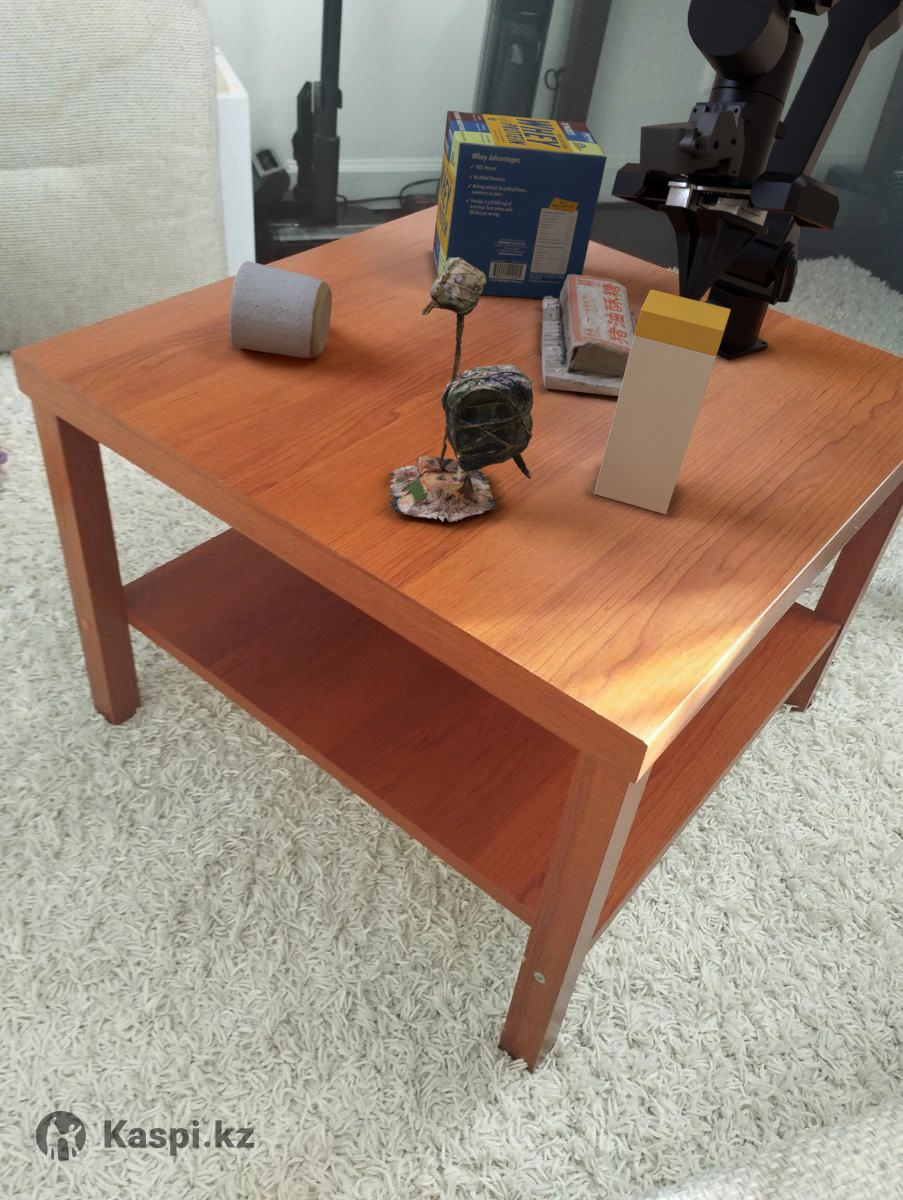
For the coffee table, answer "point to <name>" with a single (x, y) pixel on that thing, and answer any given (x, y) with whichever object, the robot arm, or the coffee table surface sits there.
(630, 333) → the packaged product
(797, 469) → the coffee table surface
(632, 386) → the block
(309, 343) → the grey cylinder
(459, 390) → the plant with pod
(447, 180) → the protein box
